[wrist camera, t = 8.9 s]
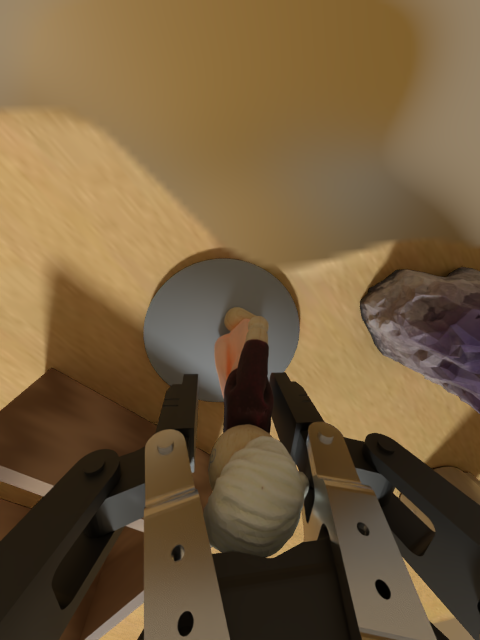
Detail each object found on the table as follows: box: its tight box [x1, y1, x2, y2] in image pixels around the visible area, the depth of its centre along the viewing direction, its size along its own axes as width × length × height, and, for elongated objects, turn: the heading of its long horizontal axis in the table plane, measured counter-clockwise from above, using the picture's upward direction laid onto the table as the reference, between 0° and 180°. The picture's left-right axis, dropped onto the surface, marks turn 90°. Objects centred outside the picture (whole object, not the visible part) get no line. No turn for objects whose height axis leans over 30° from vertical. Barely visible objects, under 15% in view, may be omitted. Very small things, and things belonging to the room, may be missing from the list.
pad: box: [144, 258, 300, 402], centre depth 18 cm, size 12×12×1 cm
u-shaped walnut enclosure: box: [0, 368, 212, 640], centre depth 18 cm, size 16×16×7 cm
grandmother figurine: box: [203, 307, 309, 557], centre depth 12 cm, size 8×4×13 cm, turn 4°
